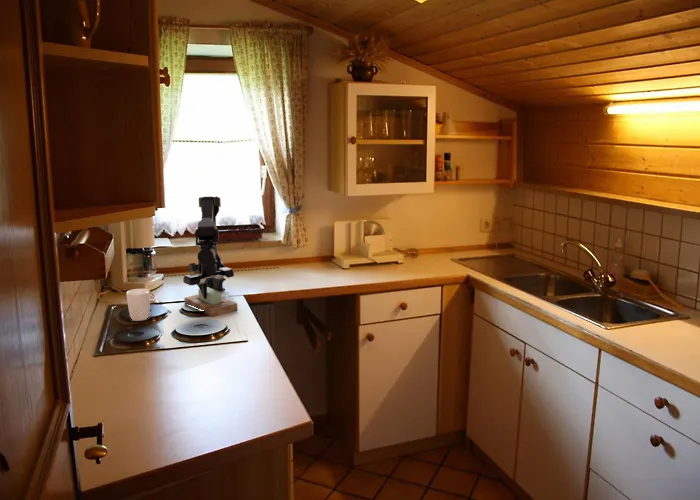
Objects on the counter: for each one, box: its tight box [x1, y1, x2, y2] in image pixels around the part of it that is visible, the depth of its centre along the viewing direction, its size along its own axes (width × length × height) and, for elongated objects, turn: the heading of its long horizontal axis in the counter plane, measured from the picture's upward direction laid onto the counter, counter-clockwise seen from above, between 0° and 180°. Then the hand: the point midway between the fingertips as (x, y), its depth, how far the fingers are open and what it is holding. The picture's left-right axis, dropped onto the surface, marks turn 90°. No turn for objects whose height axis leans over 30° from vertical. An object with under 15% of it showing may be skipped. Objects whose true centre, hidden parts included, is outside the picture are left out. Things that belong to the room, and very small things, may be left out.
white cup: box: [125, 288, 151, 322], centre depth 217 cm, size 8×8×10 cm
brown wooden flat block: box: [184, 293, 238, 318], centre depth 230 cm, size 20×11×3 cm, turn 43°
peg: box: [198, 287, 223, 305], centre depth 229 cm, size 10×4×4 cm, turn 43°
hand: (210, 297), depth 230 cm, fingers closed on peg, 4 cm apart
